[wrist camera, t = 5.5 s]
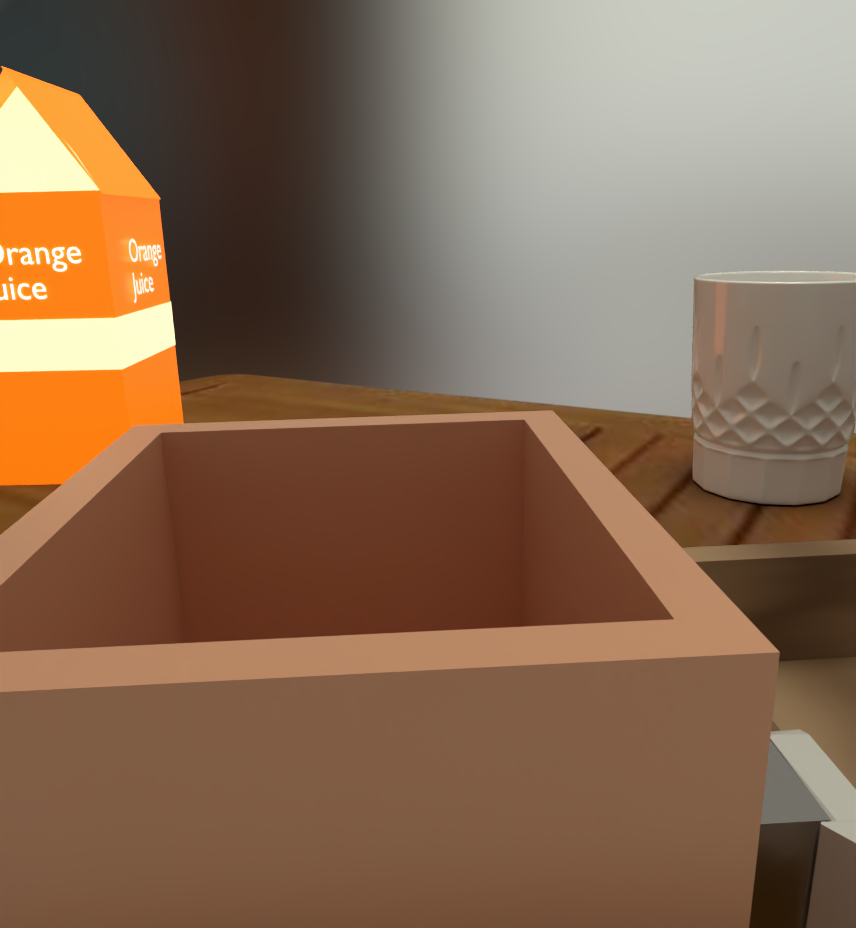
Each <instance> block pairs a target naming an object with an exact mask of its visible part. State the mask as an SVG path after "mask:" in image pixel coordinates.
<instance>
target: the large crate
mask: <svg viewBox="0 0 856 928" xmlns="http://www.w3.org/2000/svg"><path fill="white" fill-rule="evenodd" d="M682 549H683V550H684V551H685V552H686V553H687V554H688V555H689V556H690V557H691V558H692V559H693V560H694V562H695V563H696V564H697V565H698V566H699V567H700V568H701V569H702V570H703V571H704V572H705V573H706V574H707V575H708V576H709V577H710V579H711V580H712V581H713V582H714V583H715V584H716V585H717V586H718V587H719V588H720V589H721V590H722V591H723V592H724V593H725V594H726V596H727V597H728V598H729V599H730V600H731V601H732V602H733V603H734V604H735V605H736V606H737V607H738V608H739V609H740V610H741V611H742V613H743V614H744V615H745V616H746V617H747V618H748V619H749V620H750V621H751V622H752V623H753V624H754V625H755V626H756V627H757V628H758V630H759V631H760V632H761V633H762V634H763V635H764V636H765V637H766V638H767V639H768V640H769V641H770V642H771V643H772V644H773V646H774V647H775V648H776V649H777V650H778V651H779V652H780V655H779V664H778V673H777V682H776V691H775V700H774V709H773V718H772V727H771V732H772V731H784V730H796V729H800V730H802V731H804V732H806V733H808V734H809V735H810V736H811V737H812V739H813V740H814V741H815V742H816V743H817V744H818V746H819V747H820V748H821V749H822V750H823V751H824V753H825V754H826V755H827V756H828V757H829V758H830V760H831V761H832V762H833V763H834V764H835V765H836V767H837V768H838V769H839V770H840V771H841V772H842V774H843V775H844V776H845V777H846V778H847V779H848V781H849V782H850V783H851V784H852V785H853V786H854V788H855V789H856V539H851V540H831V541H810V542H790V543H770V544H750V545H730V546H709V547H689V548H682Z"/></svg>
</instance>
